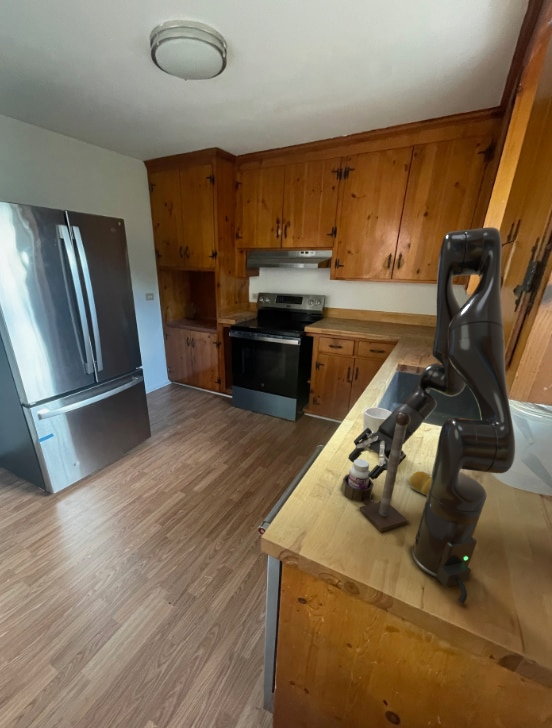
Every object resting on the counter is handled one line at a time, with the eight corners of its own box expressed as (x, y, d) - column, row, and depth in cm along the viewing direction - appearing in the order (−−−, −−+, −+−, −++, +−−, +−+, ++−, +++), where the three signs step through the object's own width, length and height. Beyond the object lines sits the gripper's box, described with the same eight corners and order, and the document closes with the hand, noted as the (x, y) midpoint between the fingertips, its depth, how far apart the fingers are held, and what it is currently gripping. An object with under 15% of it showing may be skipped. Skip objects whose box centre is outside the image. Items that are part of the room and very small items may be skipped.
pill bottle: (344, 494, 91) (348, 464, 87) (349, 484, 95) (353, 455, 92) (364, 500, 88) (369, 470, 85) (368, 490, 93) (373, 460, 89)
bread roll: (436, 502, 88) (439, 490, 87) (403, 486, 94) (406, 474, 93) (448, 489, 93) (451, 477, 92) (416, 475, 99) (419, 464, 98)
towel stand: (407, 523, 81) (433, 417, 70) (380, 532, 78) (403, 422, 67) (359, 481, 97) (374, 388, 86) (336, 486, 94) (348, 392, 83)
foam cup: (353, 442, 118) (358, 409, 113) (375, 438, 121) (381, 406, 116) (369, 455, 110) (375, 420, 105) (392, 451, 112) (399, 417, 107)
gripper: (376, 406, 93) (337, 449, 93) (416, 428, 80) (370, 477, 81) (388, 421, 96) (350, 461, 97) (427, 444, 84) (384, 490, 85)
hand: (359, 468), depth 89 cm, fingers open, 8 cm apart
